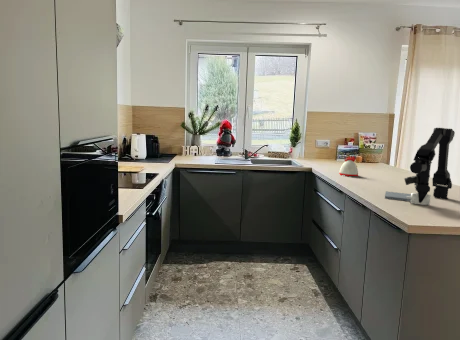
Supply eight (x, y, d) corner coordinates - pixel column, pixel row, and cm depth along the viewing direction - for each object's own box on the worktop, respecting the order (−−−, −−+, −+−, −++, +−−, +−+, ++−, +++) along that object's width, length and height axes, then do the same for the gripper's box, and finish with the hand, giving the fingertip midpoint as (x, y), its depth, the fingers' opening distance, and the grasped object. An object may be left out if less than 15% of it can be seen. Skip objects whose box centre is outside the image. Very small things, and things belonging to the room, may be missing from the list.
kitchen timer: (359, 177, 274) (361, 157, 272) (340, 176, 276) (342, 156, 274) (356, 174, 288) (357, 155, 285) (338, 173, 290) (339, 154, 288)
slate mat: (415, 196, 209) (415, 194, 209) (417, 202, 195) (417, 199, 194) (385, 193, 215) (385, 191, 215) (384, 198, 201) (385, 196, 201)
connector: (429, 204, 191) (430, 194, 190) (429, 205, 187) (430, 196, 186) (406, 201, 195) (407, 192, 194) (406, 202, 191) (407, 193, 191)
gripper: (405, 168, 200) (402, 196, 202) (406, 172, 183) (403, 203, 185) (428, 170, 195) (425, 199, 198) (431, 175, 178) (428, 206, 181)
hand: (419, 201), depth 190 cm, fingers closed on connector, 4 cm apart
